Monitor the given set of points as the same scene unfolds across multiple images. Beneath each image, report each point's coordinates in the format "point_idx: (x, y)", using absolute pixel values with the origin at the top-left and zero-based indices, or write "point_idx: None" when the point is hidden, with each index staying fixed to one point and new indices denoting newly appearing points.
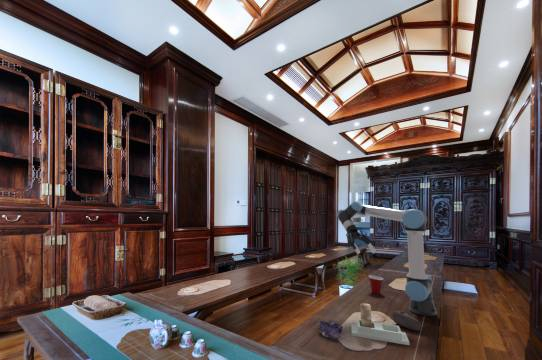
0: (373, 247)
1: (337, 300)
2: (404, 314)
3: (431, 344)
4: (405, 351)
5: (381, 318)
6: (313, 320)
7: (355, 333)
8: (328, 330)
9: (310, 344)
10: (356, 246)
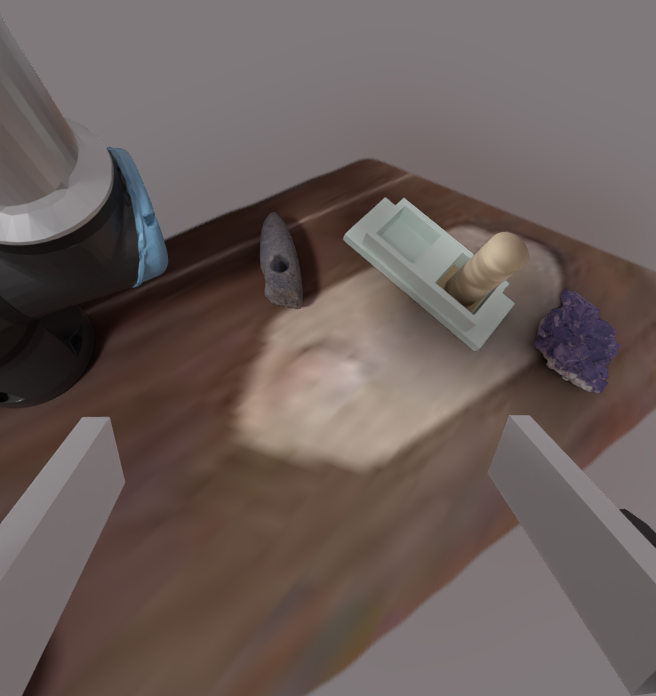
0: (28, 494)
1: (345, 662)
2: (287, 251)
3: (315, 181)
4: (419, 192)
5: (304, 365)
6: (587, 452)
7: (504, 296)
8: (597, 322)
9: (647, 314)
10: (620, 520)
